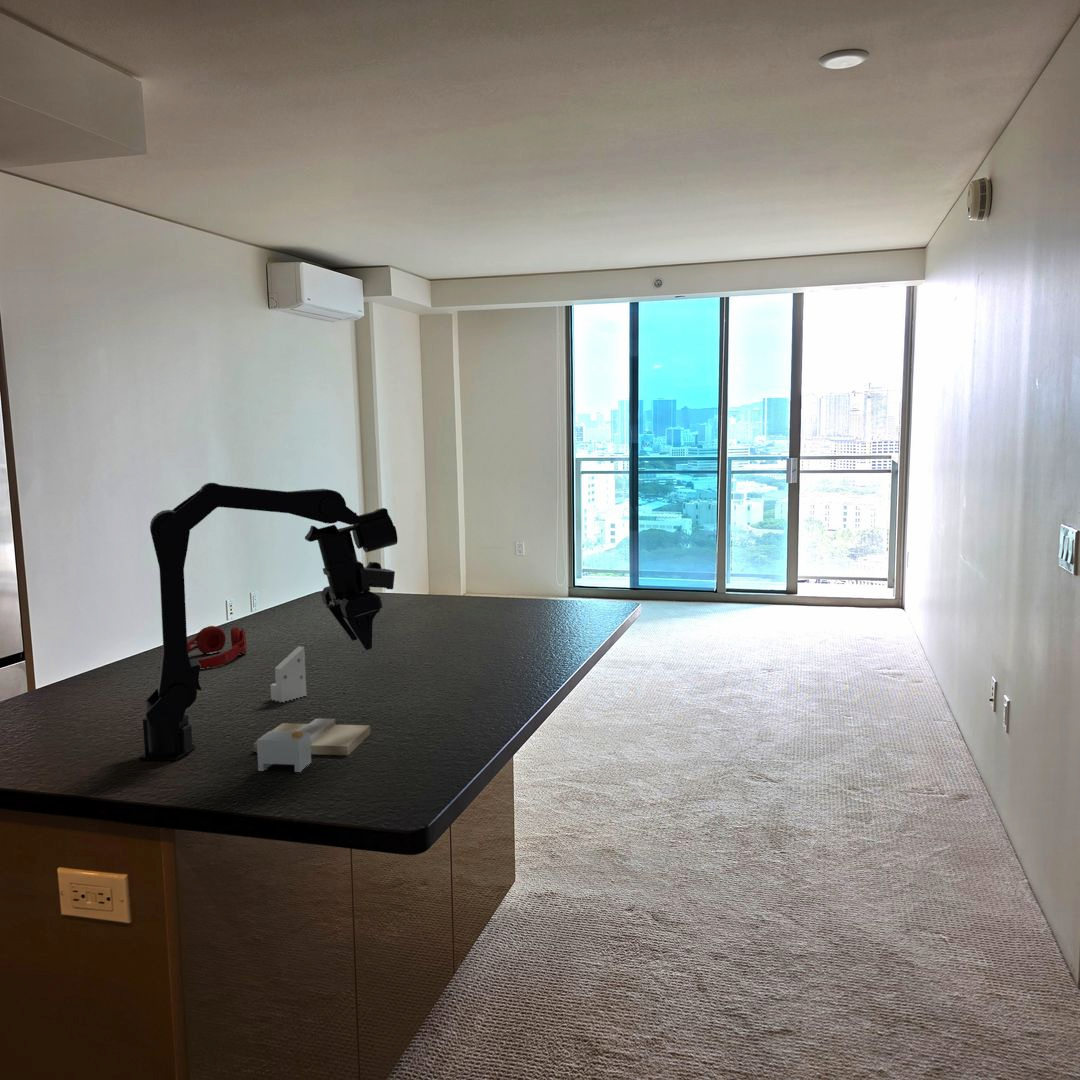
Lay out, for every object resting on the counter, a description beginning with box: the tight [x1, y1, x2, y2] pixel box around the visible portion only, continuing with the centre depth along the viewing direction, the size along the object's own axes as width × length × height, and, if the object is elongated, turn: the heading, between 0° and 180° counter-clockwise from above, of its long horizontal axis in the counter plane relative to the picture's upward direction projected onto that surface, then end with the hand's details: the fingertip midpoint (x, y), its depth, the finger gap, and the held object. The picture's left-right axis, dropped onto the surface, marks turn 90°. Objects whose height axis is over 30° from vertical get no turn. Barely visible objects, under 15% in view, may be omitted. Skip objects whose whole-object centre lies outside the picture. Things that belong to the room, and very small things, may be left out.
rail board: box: [253, 718, 371, 756], centre depth 152 cm, size 16×11×2 cm
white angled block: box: [270, 645, 308, 703], centre depth 181 cm, size 4×10×9 cm, turn 141°
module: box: [256, 730, 312, 773], centre depth 141 cm, size 7×4×6 cm
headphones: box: [187, 625, 248, 668], centre depth 215 cm, size 15×7×20 cm
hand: (361, 644), depth 160 cm, fingers open, 9 cm apart
